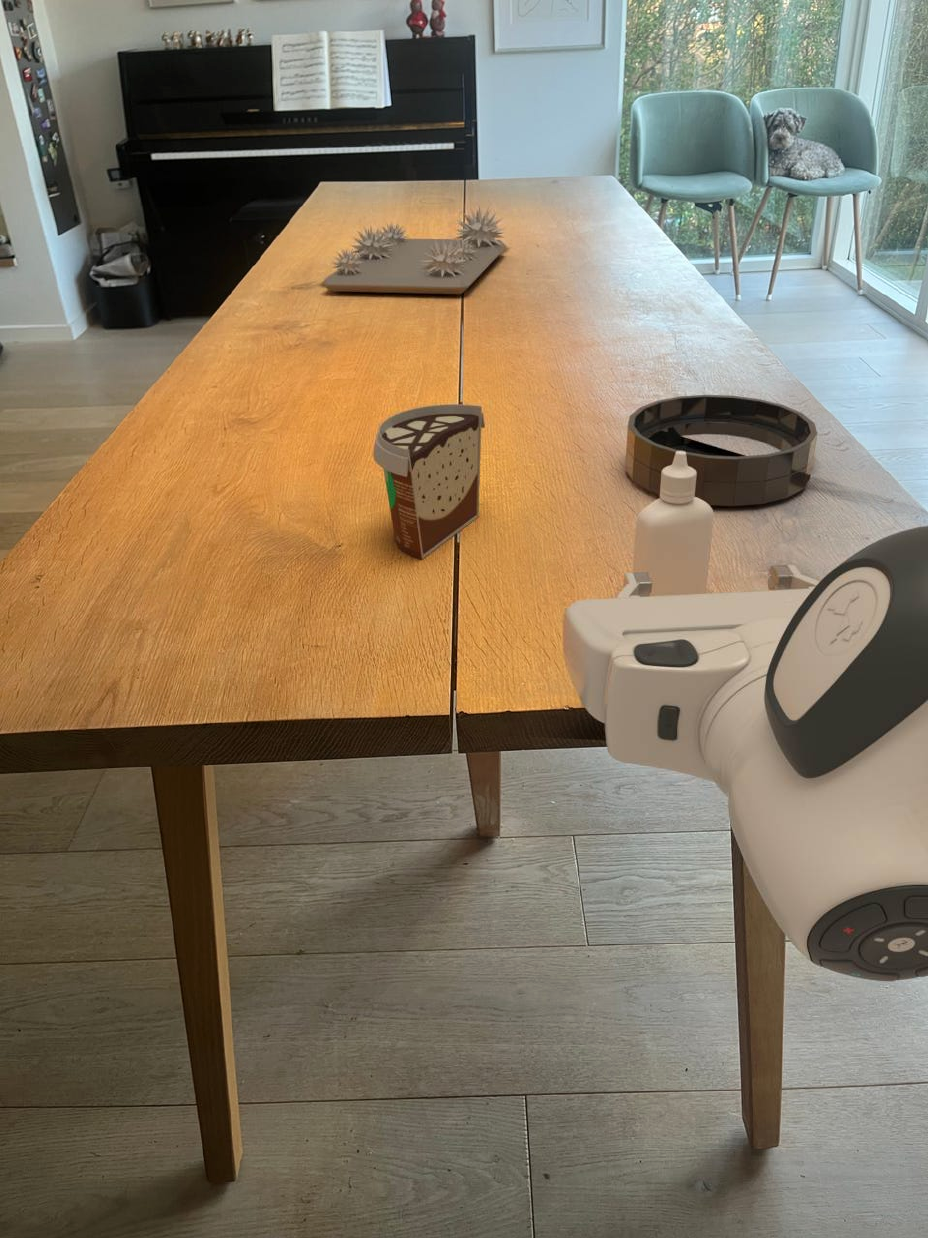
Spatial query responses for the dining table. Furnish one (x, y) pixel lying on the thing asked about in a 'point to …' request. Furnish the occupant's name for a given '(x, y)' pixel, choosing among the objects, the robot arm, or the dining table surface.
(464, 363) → the dining table surface
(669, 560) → the eye dropper bottle
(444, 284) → the decorative tray
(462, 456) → the food container
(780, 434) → the faceted ring band
